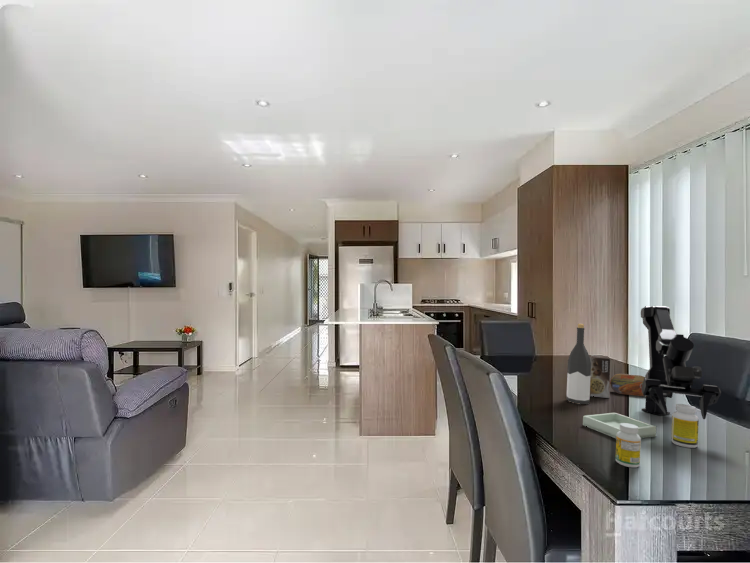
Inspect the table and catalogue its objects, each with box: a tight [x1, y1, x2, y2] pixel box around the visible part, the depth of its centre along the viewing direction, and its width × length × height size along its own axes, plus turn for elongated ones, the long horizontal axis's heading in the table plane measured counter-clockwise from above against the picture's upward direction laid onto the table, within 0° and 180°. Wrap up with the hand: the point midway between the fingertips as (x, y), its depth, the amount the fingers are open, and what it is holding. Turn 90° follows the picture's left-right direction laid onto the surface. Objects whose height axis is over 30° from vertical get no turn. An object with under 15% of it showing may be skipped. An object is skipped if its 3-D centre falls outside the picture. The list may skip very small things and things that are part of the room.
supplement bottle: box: [615, 423, 642, 468], centre depth 108 cm, size 5×5×10 cm
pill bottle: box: [670, 403, 699, 449], centre depth 124 cm, size 6×6×11 cm
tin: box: [610, 373, 645, 397], centre depth 181 cm, size 15×3×8 cm, turn 68°
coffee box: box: [589, 354, 611, 399], centre depth 177 cm, size 9×6×16 cm
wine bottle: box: [566, 323, 591, 405], centre depth 165 cm, size 8×8×30 cm
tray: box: [582, 412, 657, 439], centre depth 133 cm, size 14×14×3 cm
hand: (685, 416), depth 124 cm, fingers open, 9 cm apart
